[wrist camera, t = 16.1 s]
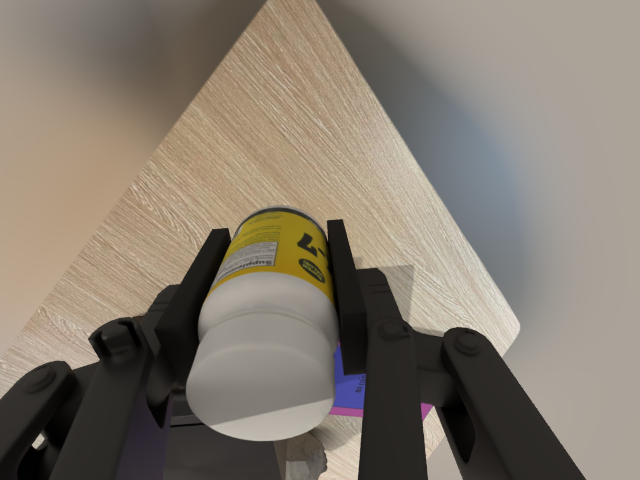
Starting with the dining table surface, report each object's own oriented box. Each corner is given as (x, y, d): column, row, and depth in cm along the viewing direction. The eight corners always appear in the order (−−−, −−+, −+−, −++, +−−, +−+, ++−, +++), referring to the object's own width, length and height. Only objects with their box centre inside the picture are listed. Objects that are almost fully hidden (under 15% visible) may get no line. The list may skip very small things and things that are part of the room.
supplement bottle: (340, 267, 16) (371, 427, 9) (260, 294, 17) (226, 465, 10) (307, 187, 14) (312, 311, 7) (216, 221, 15) (127, 370, 7)
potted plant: (337, 439, 65) (335, 495, 68) (293, 410, 72) (293, 461, 76) (299, 484, 55) (298, 546, 59) (252, 444, 63) (254, 502, 66)
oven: (136, 324, 51) (62, 436, 36) (279, 314, 52) (268, 420, 36) (167, 392, 60) (119, 506, 44) (289, 383, 60) (284, 493, 45)
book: (422, 422, 64) (281, 410, 59) (417, 408, 67) (282, 396, 62) (468, 352, 55) (305, 331, 50) (460, 340, 58) (305, 318, 52)
